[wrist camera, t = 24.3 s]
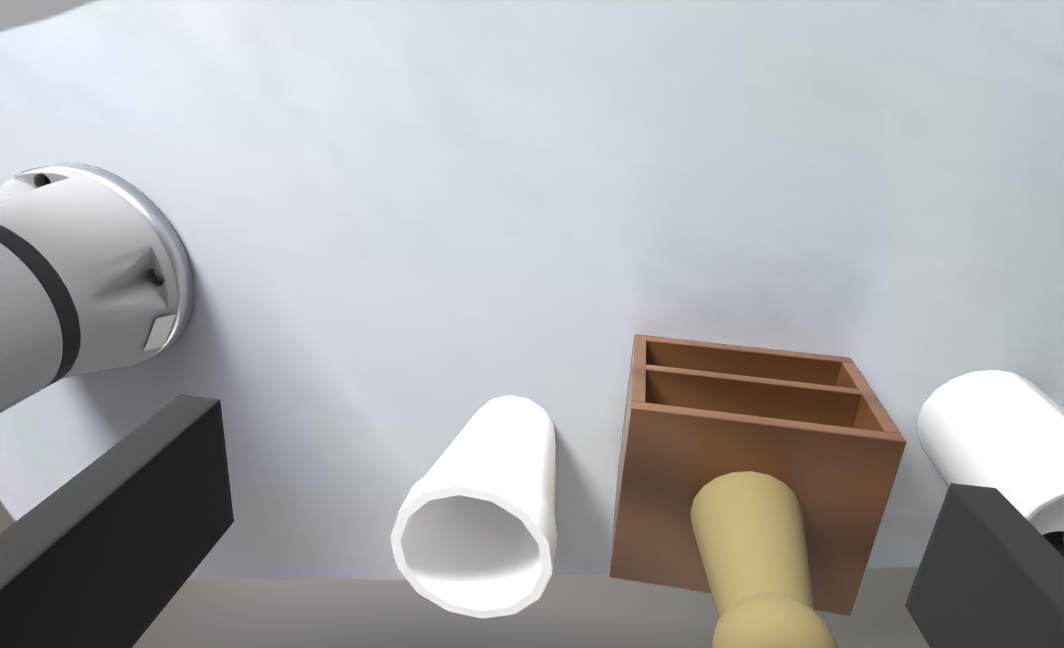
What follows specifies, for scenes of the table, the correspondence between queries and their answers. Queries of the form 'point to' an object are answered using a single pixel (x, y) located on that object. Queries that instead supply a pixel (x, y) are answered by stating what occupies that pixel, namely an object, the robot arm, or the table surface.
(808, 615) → the tan knobbed peg
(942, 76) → the table surface
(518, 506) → the foam cup
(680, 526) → the brown square box
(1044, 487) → the can
